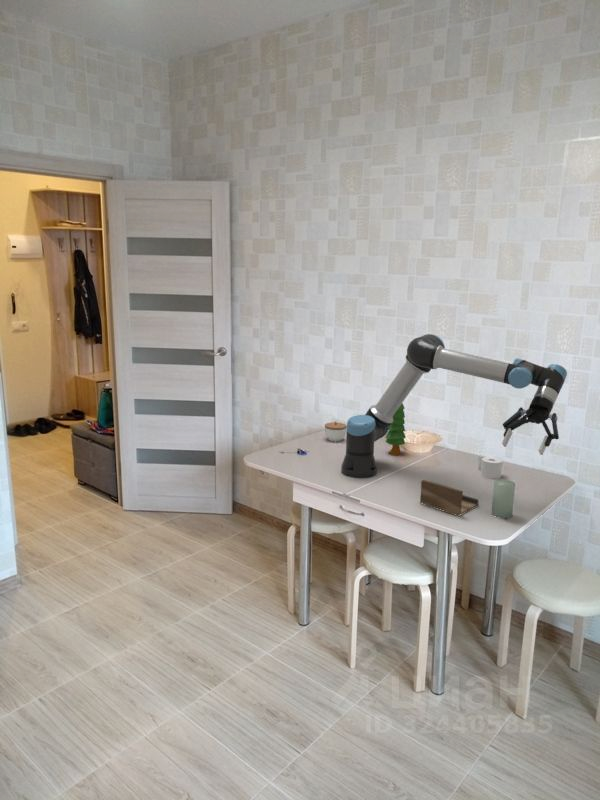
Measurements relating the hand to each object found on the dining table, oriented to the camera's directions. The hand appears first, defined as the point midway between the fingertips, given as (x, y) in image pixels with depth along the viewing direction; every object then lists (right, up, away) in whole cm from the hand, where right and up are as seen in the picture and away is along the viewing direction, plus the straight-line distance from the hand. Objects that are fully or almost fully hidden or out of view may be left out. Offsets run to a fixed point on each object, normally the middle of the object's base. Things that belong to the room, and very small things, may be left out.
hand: (521, 448), depth 219 cm
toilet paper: (+1, -14, +41) cm, 44 cm away
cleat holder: (-25, -21, +6) cm, 33 cm away
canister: (-8, -23, -2) cm, 25 cm away
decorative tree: (-35, -7, +68) cm, 77 cm away
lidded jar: (-62, -3, +88) cm, 107 cm away
